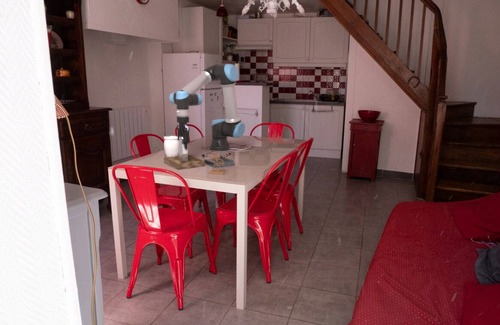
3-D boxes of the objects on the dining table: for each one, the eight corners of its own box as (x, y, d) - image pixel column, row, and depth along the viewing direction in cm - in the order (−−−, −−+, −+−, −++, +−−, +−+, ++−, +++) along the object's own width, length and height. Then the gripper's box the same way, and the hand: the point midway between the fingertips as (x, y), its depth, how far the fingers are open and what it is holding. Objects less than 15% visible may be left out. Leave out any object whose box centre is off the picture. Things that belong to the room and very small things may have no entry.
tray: (189, 159, 256) (188, 154, 255) (204, 166, 238) (204, 160, 237) (163, 162, 245) (163, 157, 245) (178, 169, 228) (178, 164, 227)
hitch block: (222, 161, 253) (222, 156, 252) (234, 165, 241) (234, 160, 241) (204, 163, 245) (204, 159, 244) (215, 168, 234) (215, 163, 233)
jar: (164, 160, 252) (163, 138, 249) (164, 156, 262) (163, 135, 259) (180, 159, 254) (179, 137, 251) (180, 156, 264) (179, 135, 261)
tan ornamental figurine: (225, 173, 223) (225, 153, 220) (223, 174, 219) (223, 154, 216) (211, 171, 225) (211, 152, 222) (208, 173, 221) (208, 153, 218)
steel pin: (185, 158, 245) (185, 136, 241) (189, 160, 241) (188, 137, 237) (178, 159, 242) (177, 136, 238) (181, 161, 238) (181, 137, 234)
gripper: (171, 115, 239) (172, 151, 245) (183, 117, 226) (184, 156, 231) (182, 114, 244) (183, 150, 249) (194, 117, 230) (195, 154, 235)
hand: (183, 152), depth 240 cm, fingers closed on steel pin, 4 cm apart
